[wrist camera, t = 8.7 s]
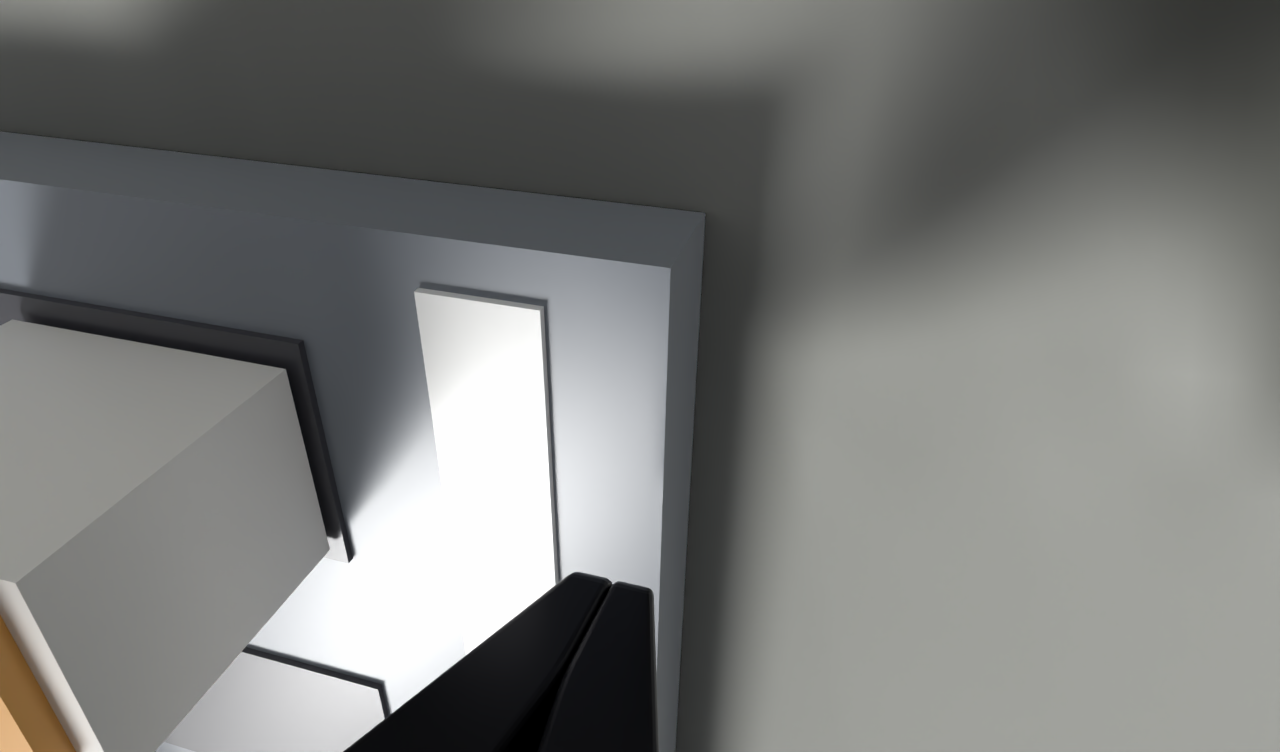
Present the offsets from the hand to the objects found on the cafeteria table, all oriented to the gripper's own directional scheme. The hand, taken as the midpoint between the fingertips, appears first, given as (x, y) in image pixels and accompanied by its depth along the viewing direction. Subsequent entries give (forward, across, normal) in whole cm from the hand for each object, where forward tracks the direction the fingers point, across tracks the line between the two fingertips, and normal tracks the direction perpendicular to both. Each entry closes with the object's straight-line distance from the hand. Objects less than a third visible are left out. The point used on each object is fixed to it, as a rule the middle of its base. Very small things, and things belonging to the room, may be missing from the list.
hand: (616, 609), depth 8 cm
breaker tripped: (+1, +6, 0) cm, 6 cm away
